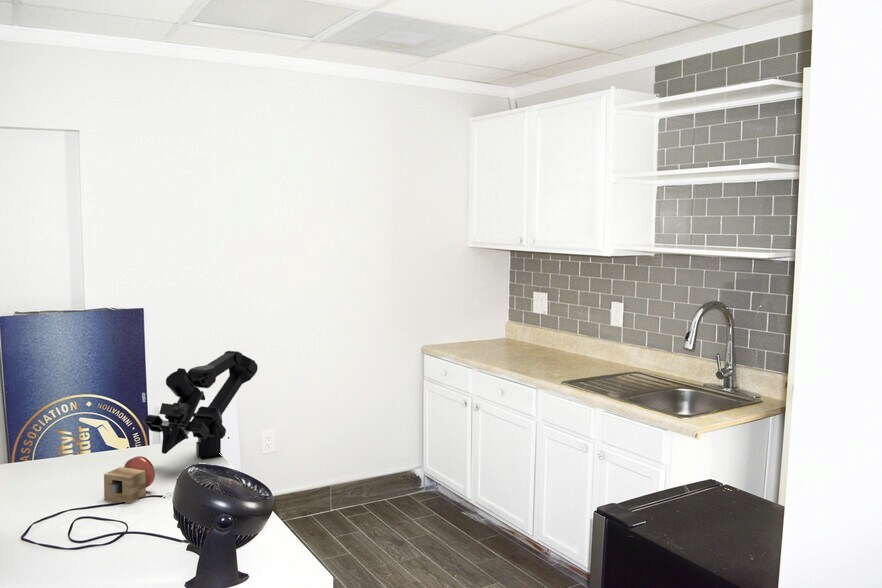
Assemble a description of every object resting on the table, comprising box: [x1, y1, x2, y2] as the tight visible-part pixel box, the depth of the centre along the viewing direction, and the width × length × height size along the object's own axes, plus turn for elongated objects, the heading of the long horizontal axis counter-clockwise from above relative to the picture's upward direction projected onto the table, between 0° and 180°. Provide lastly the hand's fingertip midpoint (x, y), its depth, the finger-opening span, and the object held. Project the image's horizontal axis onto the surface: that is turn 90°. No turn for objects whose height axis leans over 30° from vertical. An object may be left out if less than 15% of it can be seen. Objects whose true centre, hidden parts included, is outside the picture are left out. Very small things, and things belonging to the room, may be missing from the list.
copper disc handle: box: [110, 455, 156, 493], centre depth 185 cm, size 11×9×9 cm
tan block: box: [103, 466, 147, 505], centre depth 184 cm, size 6×8×7 cm
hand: (163, 453), depth 199 cm, fingers closed
